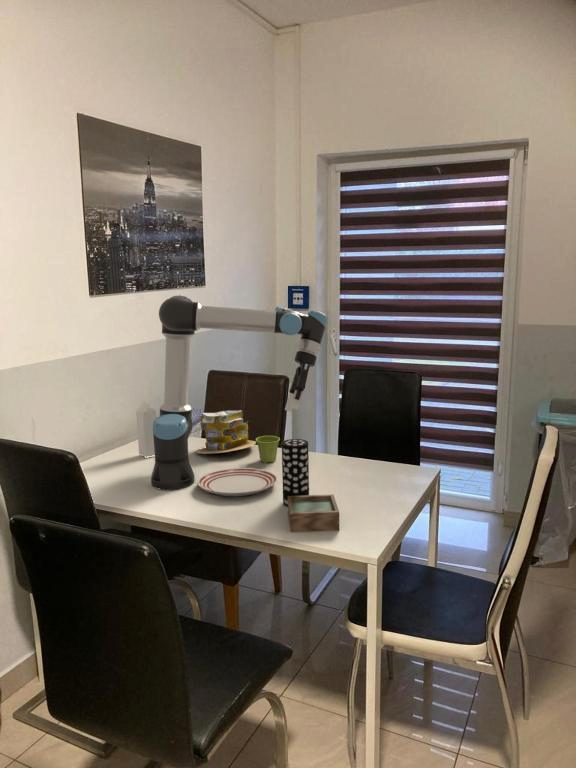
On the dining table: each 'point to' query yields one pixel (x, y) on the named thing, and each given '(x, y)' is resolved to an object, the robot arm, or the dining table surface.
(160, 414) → the robot arm
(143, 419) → the milk
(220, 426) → the plate of food packages
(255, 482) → the dinner plate
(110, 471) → the dining table surface
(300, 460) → the white-spotted black cylinder
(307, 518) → the square wooden tray
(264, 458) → the plant pot
